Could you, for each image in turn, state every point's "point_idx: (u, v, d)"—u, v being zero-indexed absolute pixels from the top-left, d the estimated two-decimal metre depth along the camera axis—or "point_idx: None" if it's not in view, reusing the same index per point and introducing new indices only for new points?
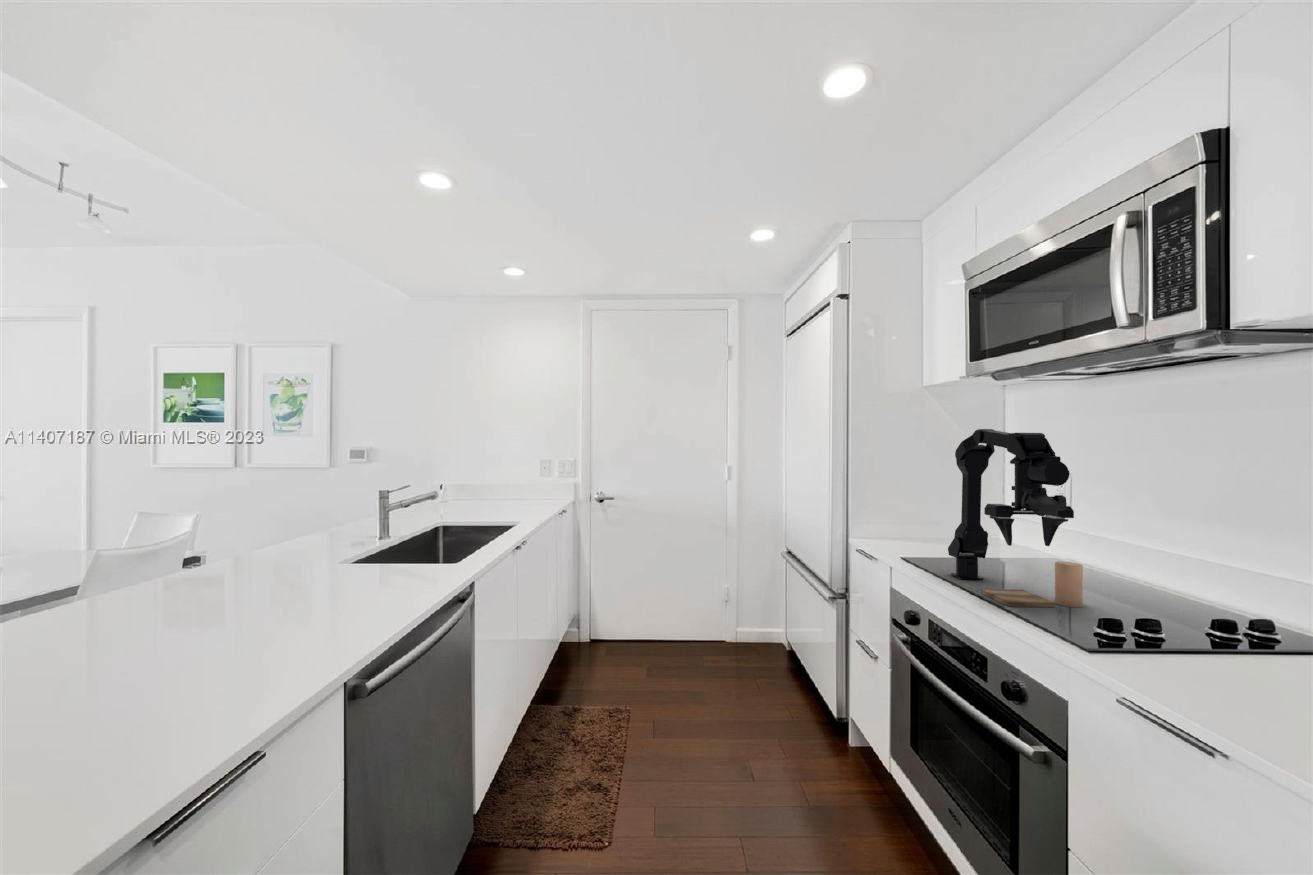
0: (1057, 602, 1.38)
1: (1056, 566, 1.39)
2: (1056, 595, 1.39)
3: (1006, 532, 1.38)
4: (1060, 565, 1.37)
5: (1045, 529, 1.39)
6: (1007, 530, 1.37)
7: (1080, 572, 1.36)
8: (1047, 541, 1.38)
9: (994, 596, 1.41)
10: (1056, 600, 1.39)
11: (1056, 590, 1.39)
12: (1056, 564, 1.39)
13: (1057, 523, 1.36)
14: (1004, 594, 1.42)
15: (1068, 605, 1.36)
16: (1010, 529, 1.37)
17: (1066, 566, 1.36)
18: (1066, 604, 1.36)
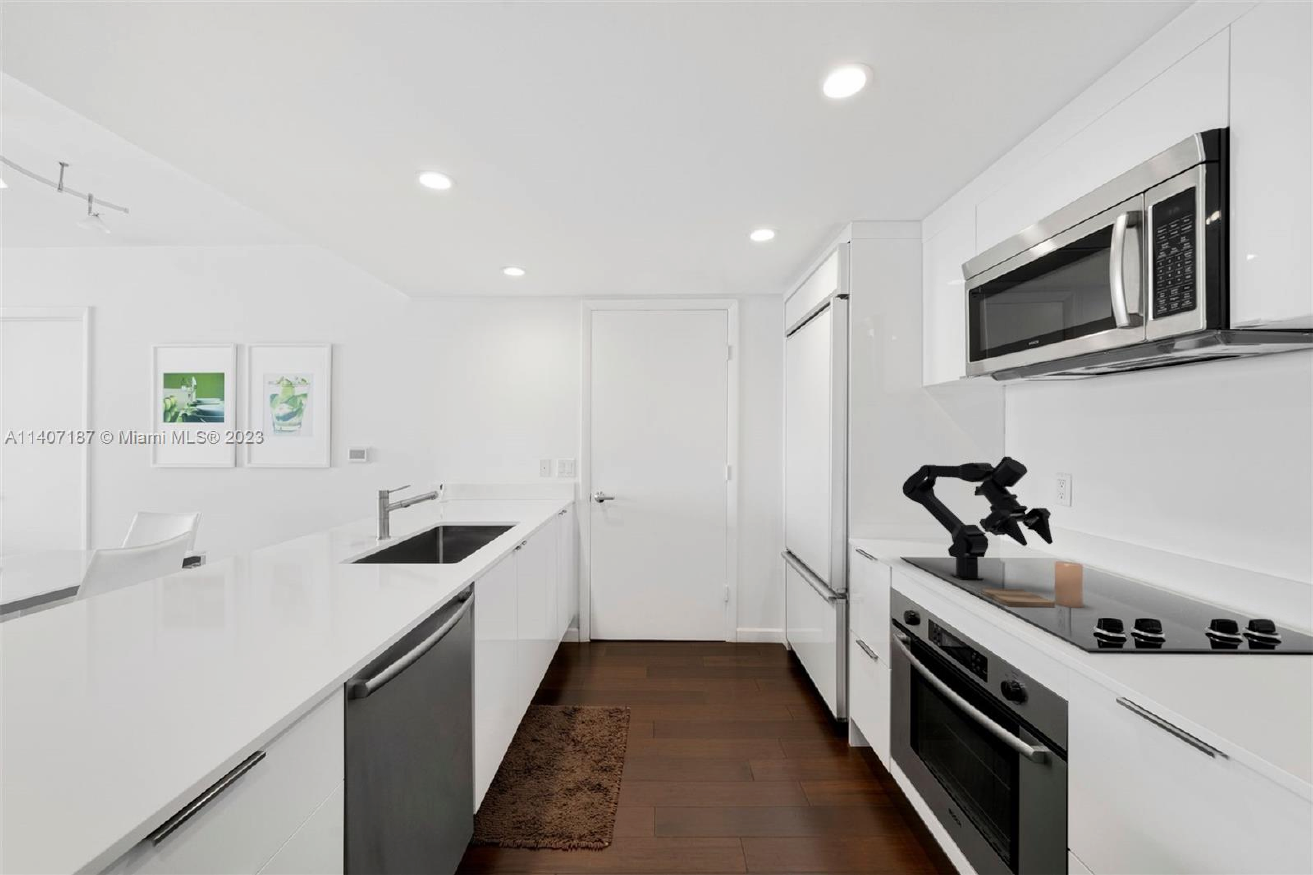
0: (1057, 602, 1.38)
1: (1056, 566, 1.39)
2: (1056, 595, 1.39)
3: None
4: (1060, 565, 1.37)
5: None
6: None
7: (1080, 572, 1.36)
8: None
9: (994, 596, 1.41)
10: (1056, 600, 1.39)
11: (1056, 590, 1.39)
12: (1056, 564, 1.39)
13: (1002, 531, 1.49)
14: (1004, 594, 1.42)
15: (1068, 605, 1.36)
16: None
17: (1066, 566, 1.36)
18: (1066, 604, 1.36)
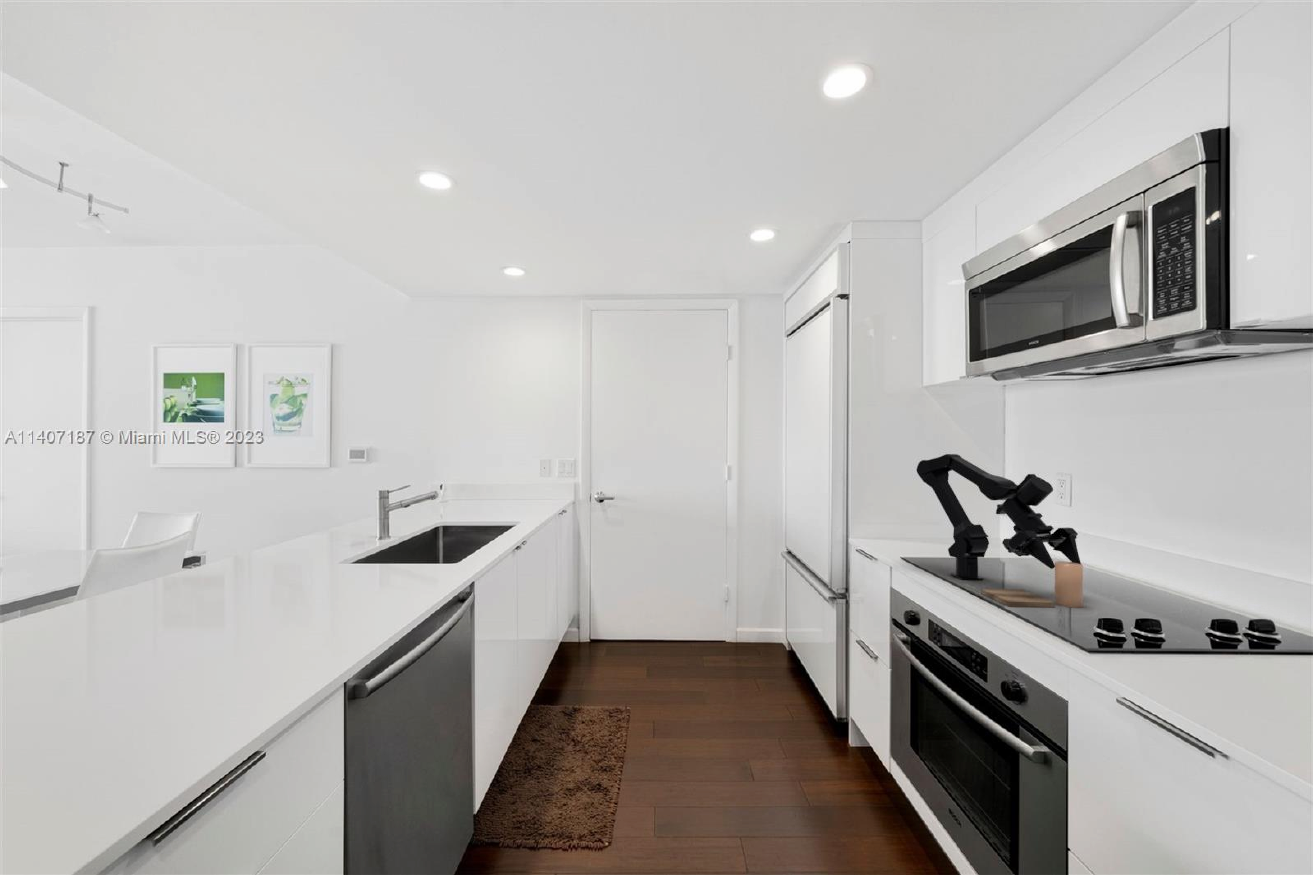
0: (1057, 602, 1.38)
1: (1056, 566, 1.39)
2: (1056, 595, 1.39)
3: None
4: (1060, 565, 1.37)
5: None
6: None
7: (1080, 572, 1.36)
8: None
9: (994, 596, 1.41)
10: (1056, 600, 1.39)
11: (1056, 590, 1.39)
12: (1056, 564, 1.39)
13: None
14: (1004, 594, 1.42)
15: (1068, 605, 1.36)
16: None
17: (1066, 566, 1.36)
18: (1066, 604, 1.36)
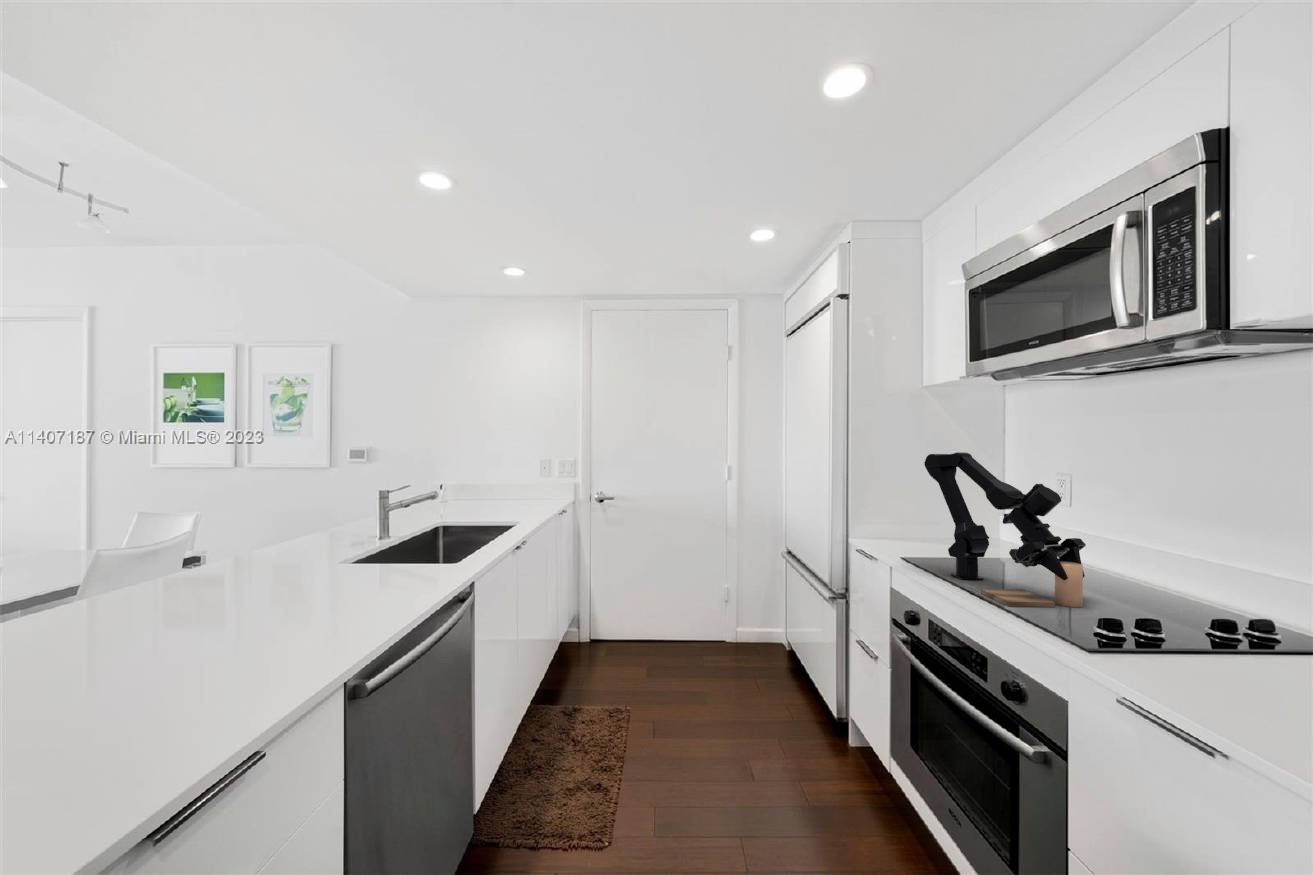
0: (1057, 602, 1.38)
1: None
2: (1056, 595, 1.39)
3: None
4: None
5: None
6: None
7: (1080, 572, 1.36)
8: None
9: (994, 596, 1.41)
10: (1056, 600, 1.39)
11: (1056, 590, 1.39)
12: None
13: None
14: (1004, 594, 1.42)
15: (1068, 605, 1.36)
16: None
17: (1066, 566, 1.36)
18: (1066, 604, 1.36)
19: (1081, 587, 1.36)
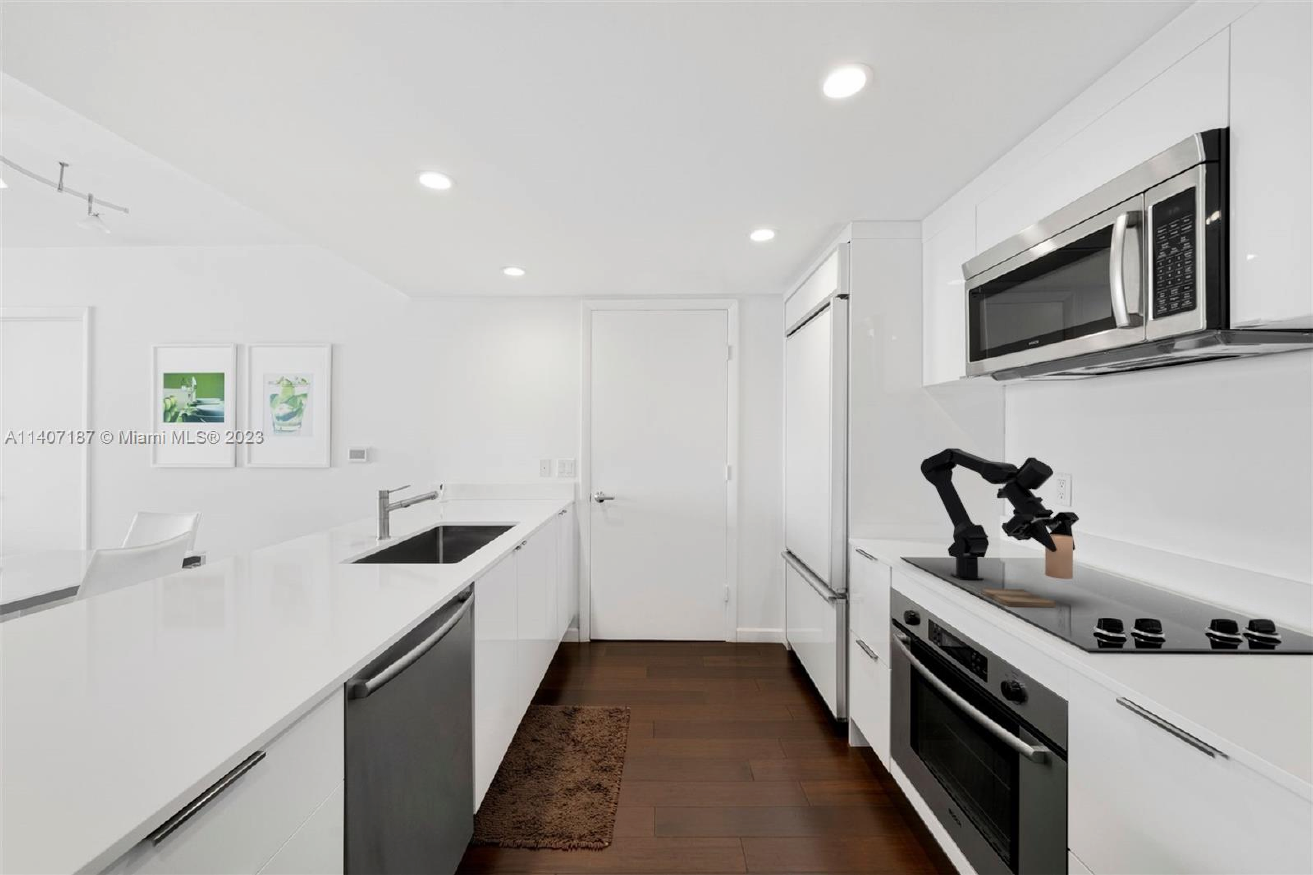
0: (1047, 574, 1.39)
1: None
2: (1046, 567, 1.39)
3: None
4: None
5: None
6: None
7: (1070, 544, 1.36)
8: None
9: (994, 596, 1.41)
10: (1046, 572, 1.39)
11: (1046, 562, 1.39)
12: None
13: (1030, 536, 1.42)
14: (1004, 594, 1.42)
15: (1057, 577, 1.36)
16: None
17: (1056, 538, 1.37)
18: (1055, 576, 1.37)
19: (1071, 559, 1.36)
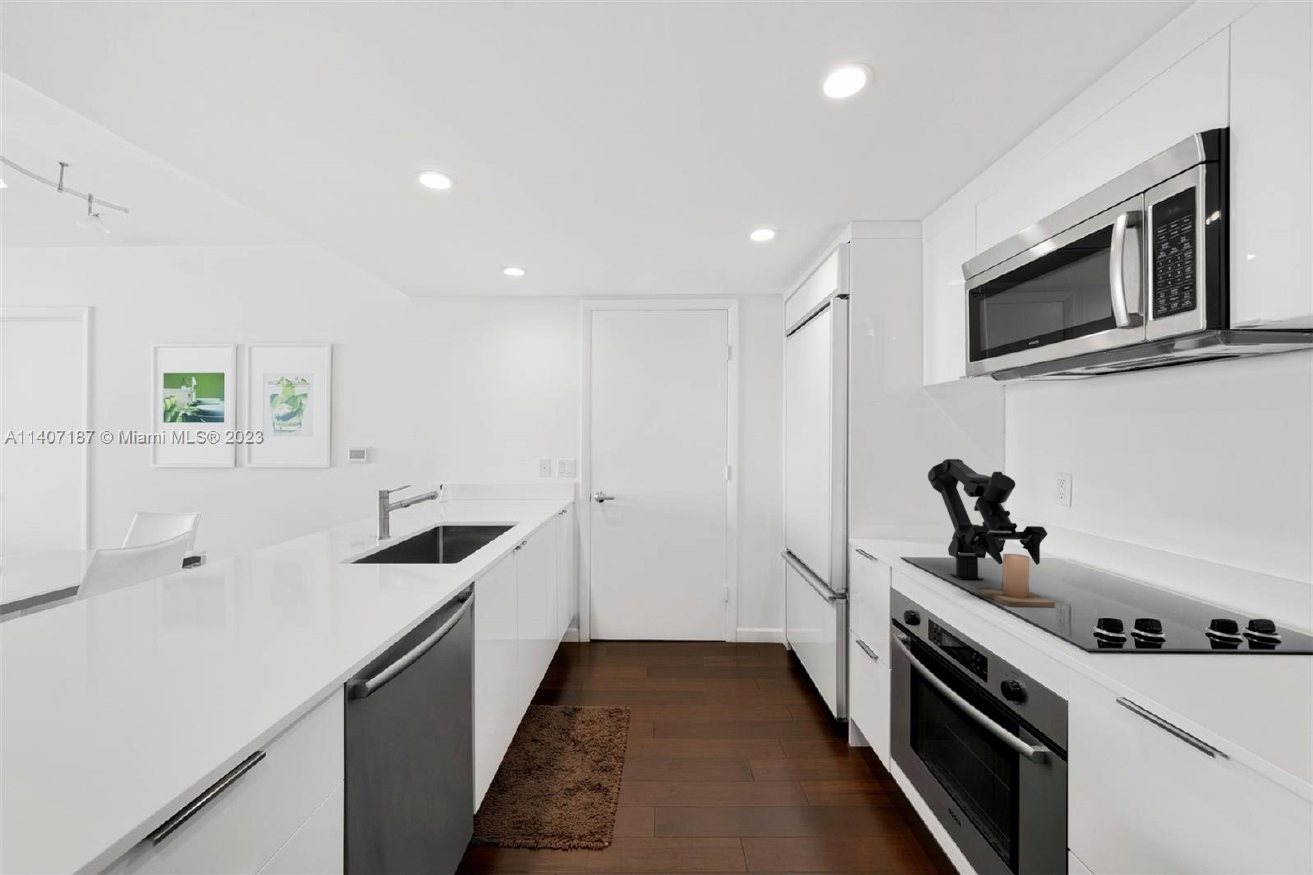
0: (1003, 592, 1.42)
1: (1003, 557, 1.43)
2: (1003, 585, 1.43)
3: None
4: (1004, 556, 1.42)
5: None
6: None
7: (1023, 564, 1.39)
8: None
9: (994, 596, 1.41)
10: (1003, 590, 1.43)
11: (1003, 581, 1.43)
12: (1003, 555, 1.43)
13: None
14: None
15: (1010, 595, 1.40)
16: None
17: (1009, 557, 1.40)
18: (1008, 594, 1.40)
19: (1024, 579, 1.39)
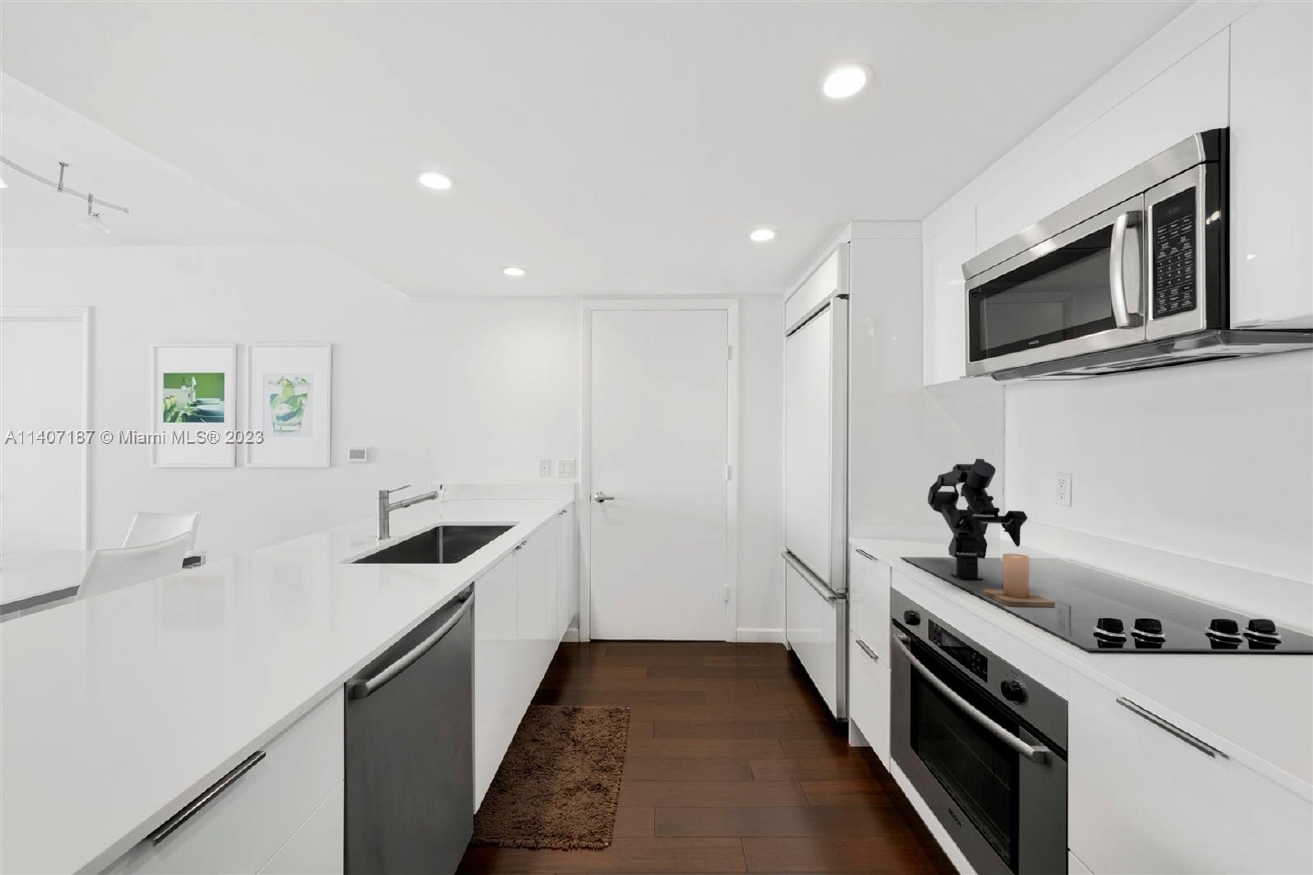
0: (1003, 592, 1.42)
1: (1003, 557, 1.43)
2: (1003, 585, 1.43)
3: None
4: (1004, 556, 1.42)
5: None
6: None
7: (1023, 564, 1.39)
8: None
9: (994, 596, 1.41)
10: (1003, 590, 1.43)
11: (1003, 581, 1.43)
12: (1003, 555, 1.43)
13: None
14: None
15: (1010, 595, 1.40)
16: None
17: (1008, 557, 1.40)
18: (1008, 594, 1.40)
19: (1024, 579, 1.39)
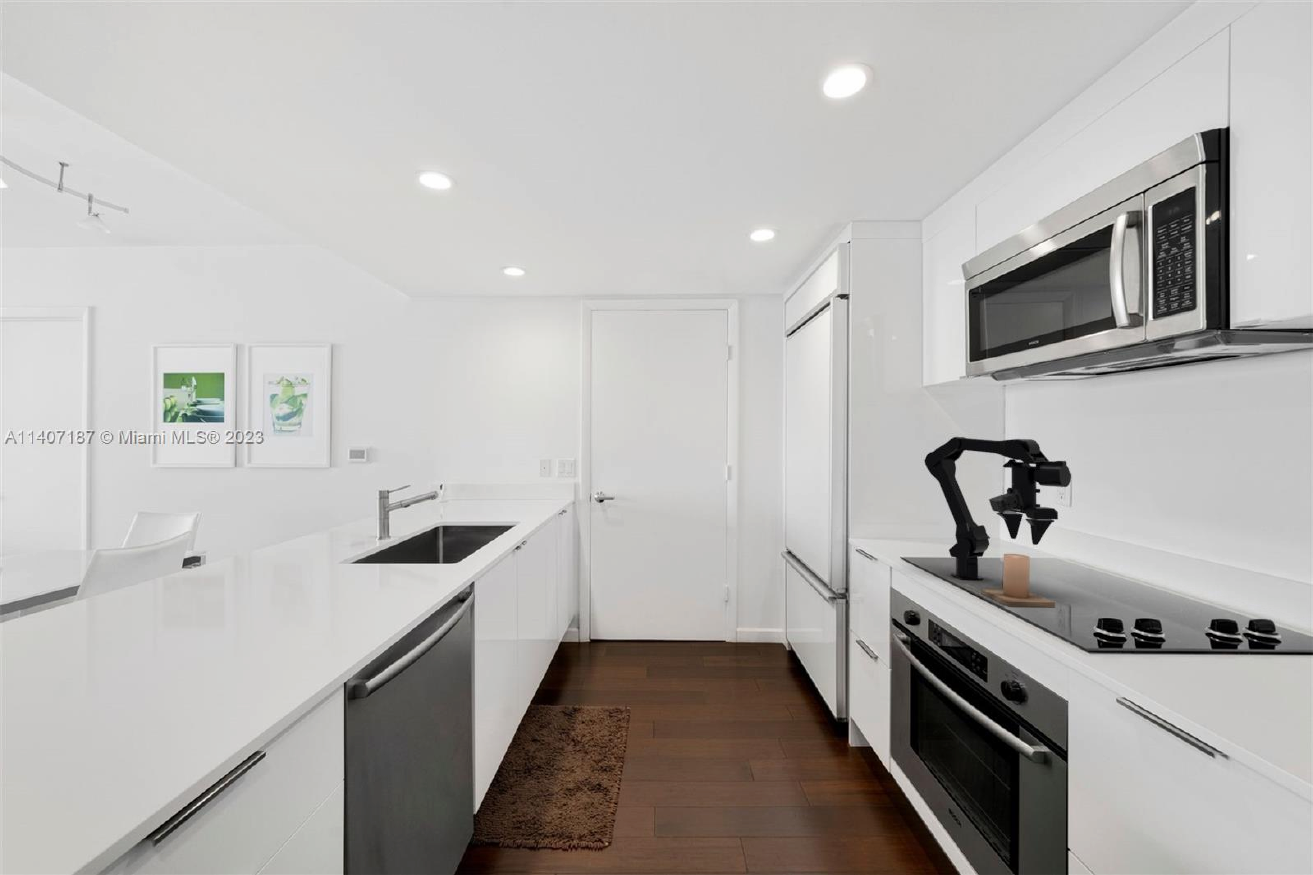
0: (1003, 592, 1.42)
1: None
2: (1003, 585, 1.43)
3: None
4: (1005, 556, 1.42)
5: None
6: (1006, 524, 1.58)
7: (1023, 564, 1.39)
8: None
9: (994, 596, 1.41)
10: (1003, 590, 1.43)
11: (1003, 580, 1.43)
12: None
13: (1030, 523, 1.47)
14: None
15: (1010, 595, 1.40)
16: (1007, 523, 1.57)
17: (1009, 557, 1.40)
18: (1008, 594, 1.40)
19: (1025, 579, 1.39)
